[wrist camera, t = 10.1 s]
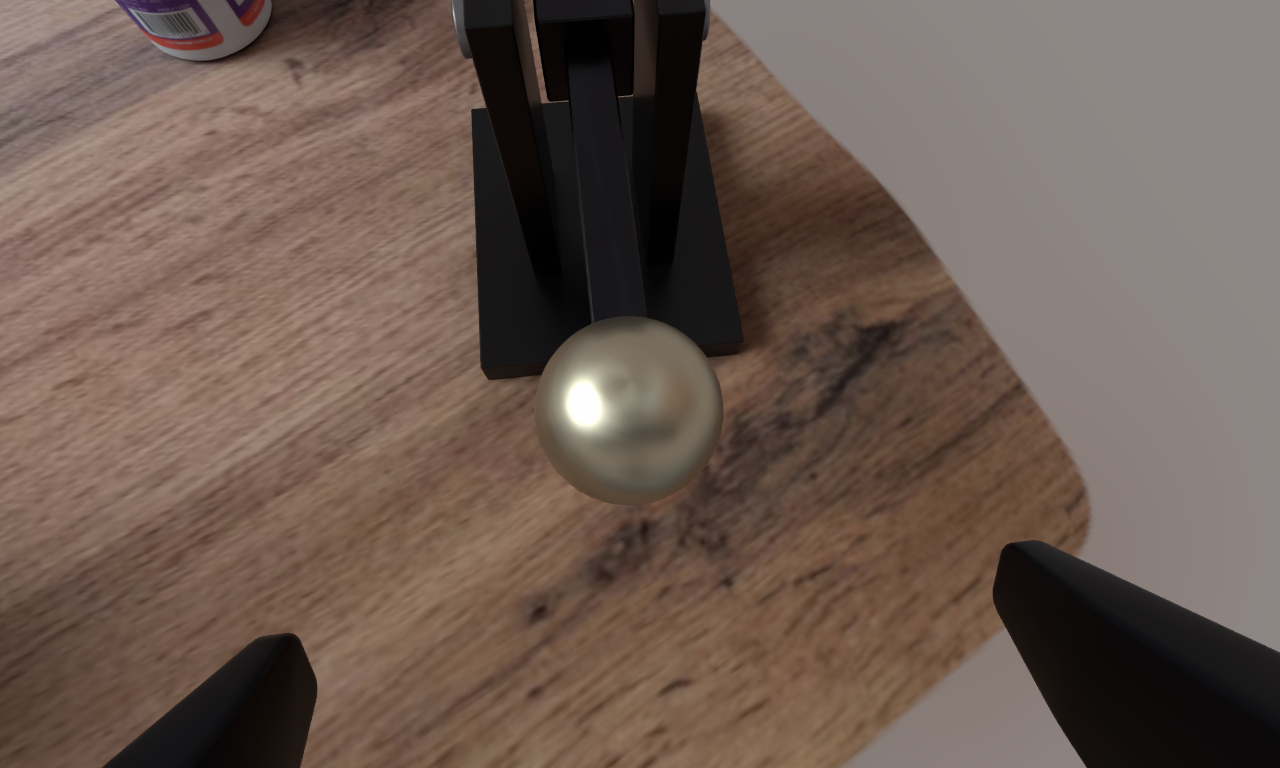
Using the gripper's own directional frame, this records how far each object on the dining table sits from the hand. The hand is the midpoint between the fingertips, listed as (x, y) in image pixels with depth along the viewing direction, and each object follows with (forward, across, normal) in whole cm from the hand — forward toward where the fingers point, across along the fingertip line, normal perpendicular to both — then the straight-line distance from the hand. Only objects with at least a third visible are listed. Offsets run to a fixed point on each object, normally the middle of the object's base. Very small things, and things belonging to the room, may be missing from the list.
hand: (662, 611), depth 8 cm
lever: (+9, 0, -3) cm, 10 cm away
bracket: (+18, 0, -1) cm, 18 cm away
